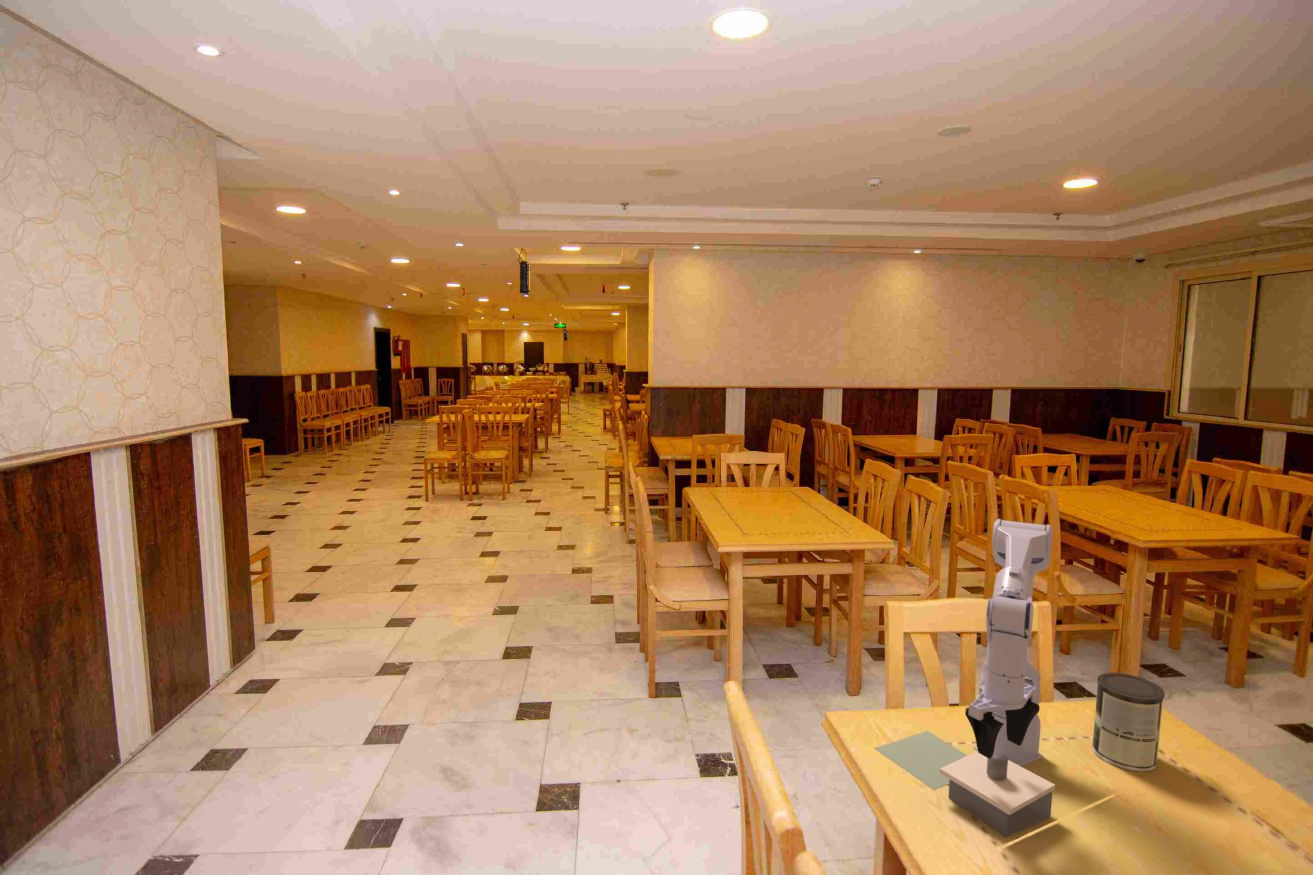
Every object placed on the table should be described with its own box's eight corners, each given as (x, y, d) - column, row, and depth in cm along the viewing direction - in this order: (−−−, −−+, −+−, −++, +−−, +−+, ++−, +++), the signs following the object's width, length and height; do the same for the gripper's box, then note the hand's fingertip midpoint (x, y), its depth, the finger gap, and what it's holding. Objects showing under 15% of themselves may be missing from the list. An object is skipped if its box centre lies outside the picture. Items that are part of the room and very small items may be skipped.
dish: (991, 782, 121) (993, 757, 121) (1050, 819, 112) (1052, 792, 111) (948, 799, 117) (949, 774, 116) (1005, 839, 107) (1007, 812, 106)
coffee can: (1079, 741, 135) (1085, 672, 133) (1131, 740, 135) (1137, 671, 133) (1115, 772, 125) (1122, 698, 123) (1171, 772, 125) (1179, 698, 123)
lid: (984, 751, 123) (986, 728, 122) (1054, 789, 112) (1056, 764, 112) (939, 773, 116) (941, 748, 116) (1009, 814, 106) (1011, 788, 105)
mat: (927, 732, 137) (927, 730, 137) (988, 770, 125) (989, 768, 125) (874, 750, 131) (874, 748, 131) (933, 791, 119) (933, 789, 119)
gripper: (1010, 651, 119) (1005, 725, 120) (954, 669, 112) (949, 748, 113) (1050, 667, 113) (1044, 745, 114) (993, 688, 106) (988, 770, 107)
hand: (999, 748), depth 113 cm, fingers open, 7 cm apart
